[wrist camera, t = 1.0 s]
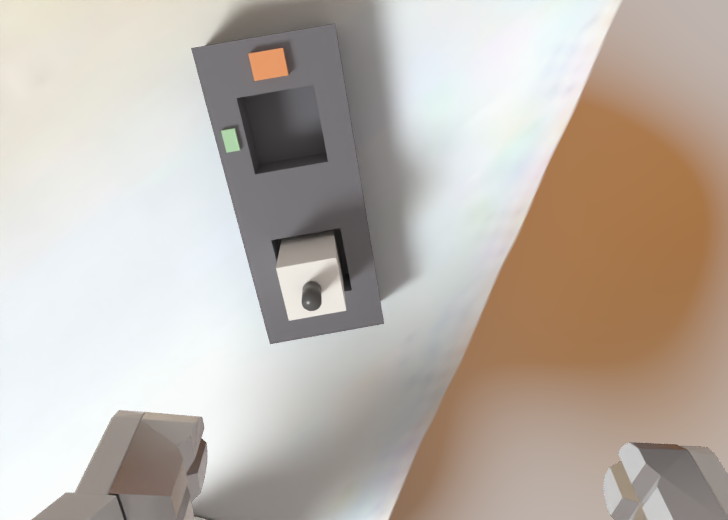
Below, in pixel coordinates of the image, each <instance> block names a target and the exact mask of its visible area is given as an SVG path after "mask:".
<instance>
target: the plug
mask: <svg viewBox="0 0 728 520" xmlns="http://www.w3.org/2000/svg"><path fill="white" fill-rule="evenodd" d="M276 271H277V275H278V279H279V283H280V287H281V291H282V295H283V299H284V303H285V307H286V311H287V315H288V319H289V321H291V320H296V319H302V318H308V317H313V316H319V315H324V314H330V313H336V312H341V311H346V303H345V293H344V283H343V274H342V266H341V261H340V256H339V250H338V245H337V240H336V235H335V229H333V230H327V231H322V232H316V233H310V234H305V235H299V236H293V237H287V238H282V239H281V244H280V250H279V255H278V260H277V265H276Z"/></svg>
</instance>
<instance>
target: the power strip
mask: <svg viewBox="0 0 728 520" xmlns="http://www.w3.org/2000/svg"><path fill="white" fill-rule="evenodd" d="M191 49H192V53H193V57H194V60H195V64H196V68H197V72H198V75H199V79H200V83H201V87H202V90H203V94H204V98H205V102H206V105H207V109H208V113H209V117H210V120H211V124H212V128H213V132H214V135H215V139H216V143H217V147H218V150H219V154H220V158H221V162H222V165H223V169H224V173H225V177H226V180H227V184H228V188H229V192H230V195H231V199H232V203H233V207H234V210H235V214H236V218H237V222H238V225H239V229H240V233H241V237H242V240H243V244H244V248H245V252H246V255H247V259H248V263H249V267H250V270H251V274H252V278H253V282H254V285H255V289H256V293H257V297H258V300H259V304H260V308H261V312H262V315H263V319H264V323H265V327H266V330H267V334H268V338H269V341H270V344H273V343H279V342H284V341H290V340H295V339H301V338H307V337H312V336H318V335H323V334H329V333H335V332H340V331H346V330H351V329H357V328H363V327H368V326H374V325H379V324H384V321H383V315H382V309H381V303H380V296H379V290H378V284H377V278H376V272H375V266H374V260H373V254H372V247H371V241H370V235H369V229H368V223H367V217H366V211H365V205H364V199H363V192H362V186H361V180H360V174H359V168H358V162H357V156H356V150H355V143H354V137H353V131H352V125H351V119H350V113H349V107H348V101H347V95H346V88H345V82H344V76H343V70H342V64H341V58H340V52H339V46H338V39H337V33H336V27H335V24H330V25H324V26H318V27H312V28H307V29H301V30H295V31H289V32H283V33H277V34H271V35H266V36H260V37H254V38H248V39H242V40H236V41H230V42H225V43H219V44H213V45H207V46H201V47H195V48H191ZM333 229H335V235H336V240H337V245H338V250H339V256H340V261H341V266H342V274H343V283H344V293H345V303H346V311H341V312H336V313H330V314H324V315H319V316H313V317H308V318H302V319H296V320H291V321H289V319H288V315H287V311H286V307H285V303H284V299H283V295H282V291H281V287H280V283H279V279H278V275H277V271H276V265H277V260H278V255H279V250H280V244H281V239H282V238H287V237H293V236H299V235H305V234H310V233H316V232H322V231H327V230H333Z"/></svg>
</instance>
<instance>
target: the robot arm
mask: <svg viewBox="0 0 728 520" xmlns="http://www.w3.org/2000/svg"><path fill="white" fill-rule="evenodd" d="M203 431H204V423H203V418H202V417H199V416H187V415H175V414H163V413H151V412H139V411H124V410H119V411H118V412H117V413H116V414H115V415H114V416H113V417H112V418H111V420H110V422H109V424H108V426H107V428H106V430H105V432H104V434H103V436H102V438H101V441H100V443H99V445H98V447H97V449H96V451H95V453H94V455H93V457H92V459H91V461H90V463H89V465H88V467H87V469H86V471H85V473H84V475H83V477H82V479H81V481H80V483H79V485H78V487H77V489H76V491H75V493H65V494H63V495H62V496H61V497H60V498H58V499H57V500H56V501H55V502H53V503H52V504H51V505H50V506H48V507H47V508H46V509H44V510H43V511H42V512H41V513H39V514H38V515H37V516H36V517H34V518H33V519H32V520H207V519H203V518H199V517H194V513H193V507H192V501H193V500H194V499H195V498H196V497H197V496H198V495H199V494H200V493H201V490H202V486H203V482H204V478H205V472H206V466H207V443H206V442H205V441H204V440H203V439H202V438H201V437H202V434H203ZM618 454H619V456H620V459H621V461H620V462H618V463H616V464H614V465H613V466H611V467H610V468H609V469H608V472H607V473H606V475H605V477H604V496H605V502H606V505H607V508H608V510H609V513H610V516H611V517H612V518H613V519H614V520H728V474H727V472H726V471H725V469H724V467H723V466H722V464H721V463H720V462H719V460H718V458H717V456H716V455H715V454H714V453H713V452H712V451H711V450H710V449H709V448H708V447H701V446H679V445H675V444H654V443H630V442H629V443H627V444H625V445H623V447H622V448H621V450H620V451H619V453H618Z"/></svg>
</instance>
